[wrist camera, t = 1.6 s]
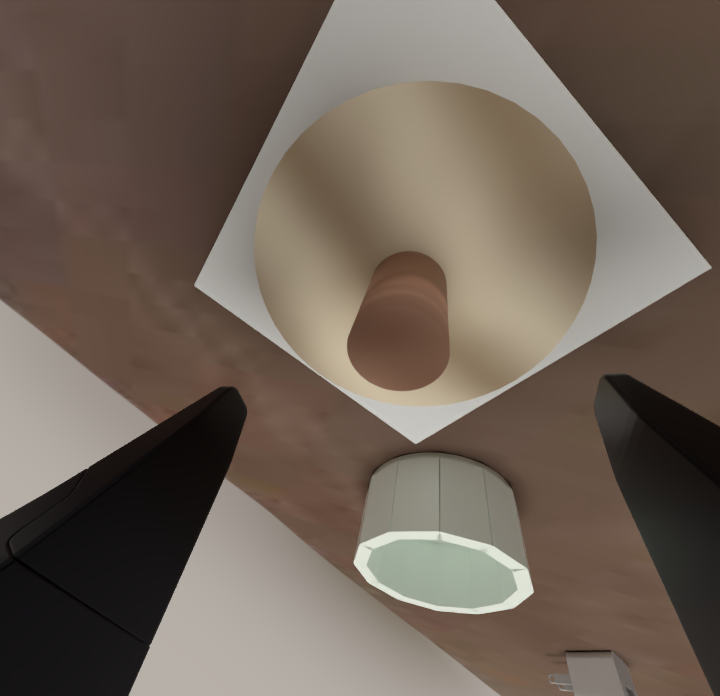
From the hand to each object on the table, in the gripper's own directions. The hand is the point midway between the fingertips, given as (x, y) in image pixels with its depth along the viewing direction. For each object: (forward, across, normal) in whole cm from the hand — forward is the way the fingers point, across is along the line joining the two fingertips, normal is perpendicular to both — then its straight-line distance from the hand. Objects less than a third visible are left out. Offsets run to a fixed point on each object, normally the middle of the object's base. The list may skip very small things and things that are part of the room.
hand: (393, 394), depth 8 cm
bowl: (+8, 0, +17) cm, 19 cm away
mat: (+8, 0, 0) cm, 8 cm away
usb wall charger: (+8, -12, +44) cm, 47 cm away
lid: (+7, 0, 0) cm, 7 cm away
